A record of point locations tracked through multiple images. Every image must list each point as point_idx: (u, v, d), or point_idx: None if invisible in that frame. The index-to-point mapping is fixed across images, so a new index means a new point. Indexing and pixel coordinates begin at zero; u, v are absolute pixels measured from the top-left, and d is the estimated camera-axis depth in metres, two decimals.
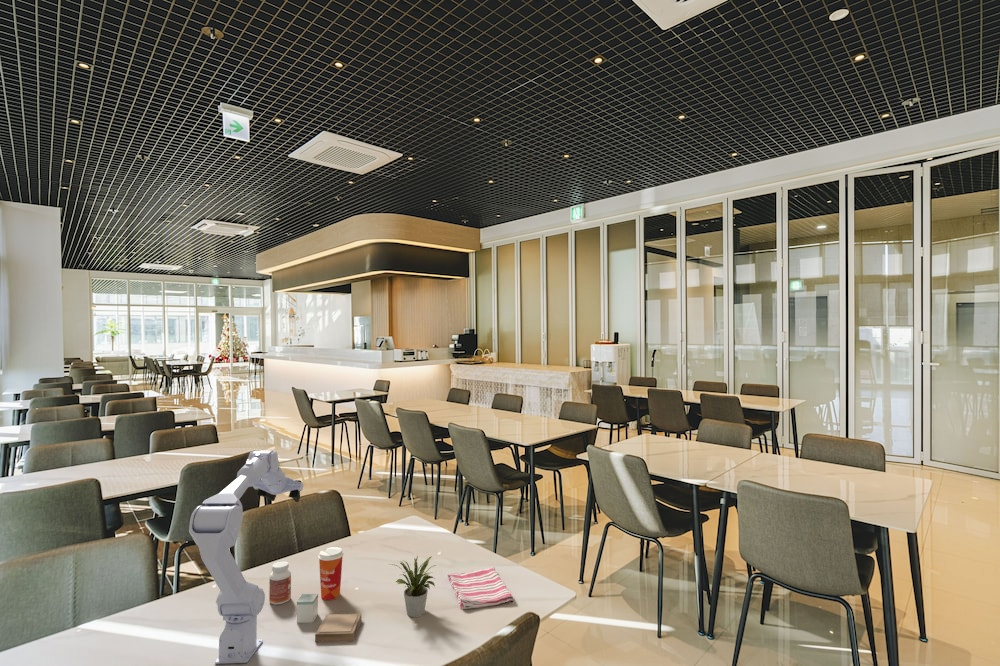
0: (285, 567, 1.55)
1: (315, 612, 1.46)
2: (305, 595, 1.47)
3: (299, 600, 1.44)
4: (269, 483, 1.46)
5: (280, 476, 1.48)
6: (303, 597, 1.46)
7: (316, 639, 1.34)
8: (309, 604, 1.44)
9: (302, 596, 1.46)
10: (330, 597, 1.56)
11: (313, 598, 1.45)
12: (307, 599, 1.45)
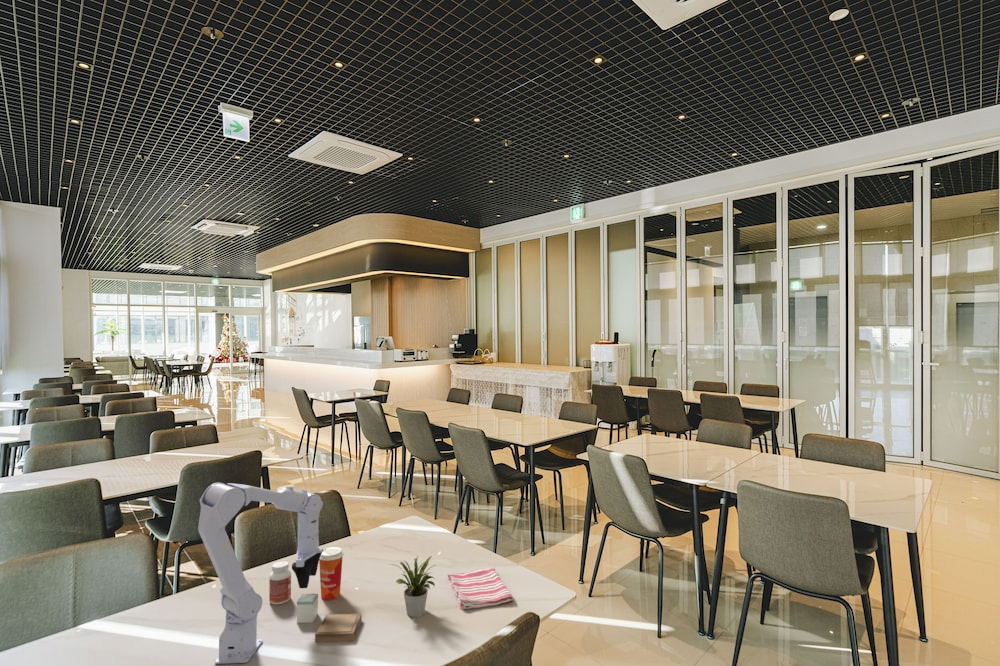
0: (285, 567, 1.55)
1: (315, 612, 1.46)
2: (305, 595, 1.47)
3: (299, 600, 1.44)
4: (299, 533, 1.44)
5: (312, 532, 1.44)
6: (303, 597, 1.46)
7: (316, 639, 1.34)
8: (309, 604, 1.44)
9: (302, 596, 1.46)
10: (330, 597, 1.56)
11: (313, 598, 1.45)
12: (307, 599, 1.45)
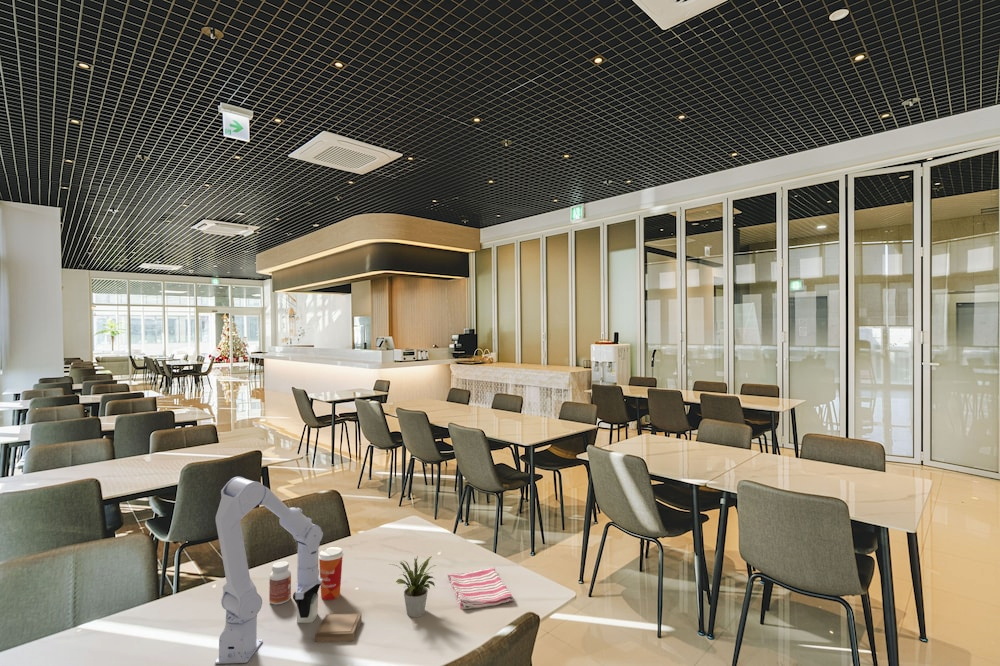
0: (285, 567, 1.55)
1: (315, 612, 1.46)
2: None
3: None
4: (299, 564, 1.44)
5: (311, 563, 1.44)
6: None
7: (316, 639, 1.34)
8: None
9: None
10: (330, 597, 1.56)
11: (313, 598, 1.45)
12: None
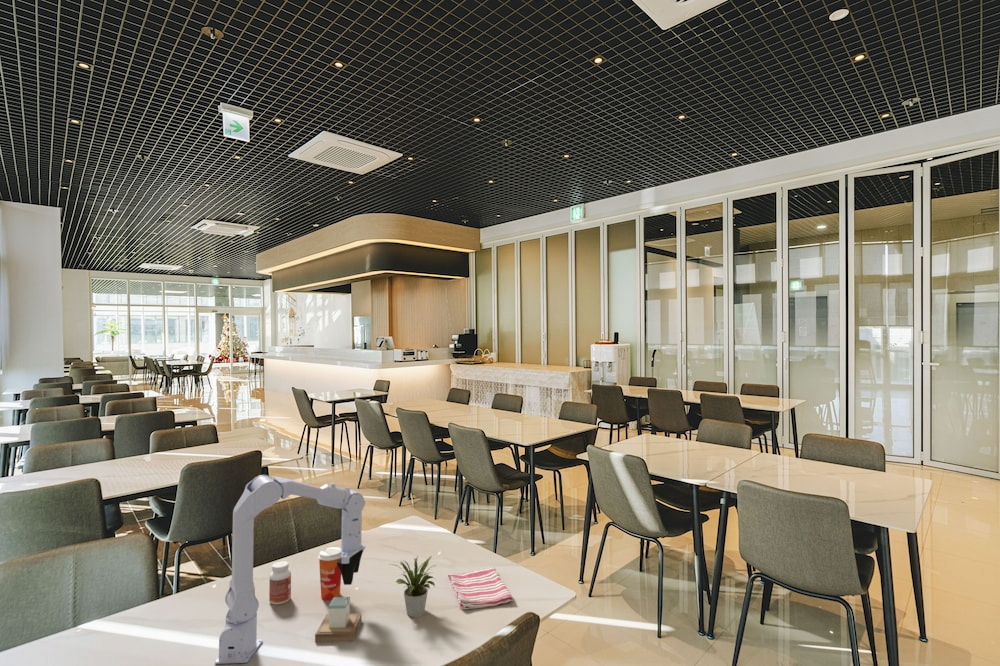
0: (285, 567, 1.55)
1: (347, 616, 1.39)
2: (337, 598, 1.41)
3: (331, 604, 1.38)
4: (342, 529, 1.47)
5: (353, 530, 1.46)
6: (335, 601, 1.39)
7: (316, 639, 1.34)
8: (342, 607, 1.37)
9: (334, 600, 1.40)
10: (330, 597, 1.56)
11: (345, 602, 1.39)
12: (339, 603, 1.38)
